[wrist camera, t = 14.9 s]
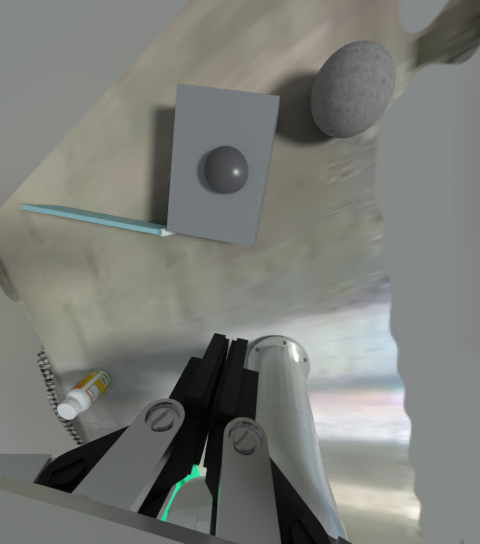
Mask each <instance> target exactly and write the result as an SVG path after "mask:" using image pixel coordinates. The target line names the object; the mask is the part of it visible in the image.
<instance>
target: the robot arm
mask: <svg viewBox="0 0 480 544" xmlns="http://www.w3.org/2000/svg"><path fill="white" fill-rule="evenodd" d="M225 338H226V335H221V334H217V333H215V334H214V336H213V338H212V340H211V342H210V344H209V346H208V348H207V350H206V353H205V355H204V357H203V359H201V358H196V357H191V359H190V360H189V362H188V364H187V366H186V368H185V369H184V371H183V373H182V375H181V377H180V378H179V380H178V382H177V384H176V386H175V387H174V389H173V391H172V393H171V395H170V396H169V398H167V399H159V400H156V401H154V402H152V403H150V404H149V405H148V406H147V407H145V408H144V410H143V411H142V412H141V413H140V414H139V415H138V417H137V418H136V419H135V420H134V421H133V422H132V424H131V425H129V426H127V427H125V428H122V429H120V430H118V431H115V432H113V433H111V434H108V435H106V436H104V437H101V438H99V439H96V440H94V441H92V442H89V443H87V444H85V445H82V446H80V447H78V448H75V449H73V450H71V451H69V452H66V453H65V454H63V455H61V456H59V457H58V458H52V457H51V454H0V544H352V543H350V542H349V540H348V537H347V534H346V530H345V527H344V525H343V522H342V519H341V516H340V513H339V511H338V508H337V505H336V502H335V499H334V496H333V494H332V491H331V488H330V485H329V482H328V478H327V475H326V472H325V468H324V464H323V460H322V456H321V452H320V448H319V443H318V438H317V434H316V429H315V424H314V419H313V415H312V410H311V405H310V400H309V395H308V390H307V386H306V381H305V380H306V379H307V377H308V375H309V372H310V361H309V357H308V355H307V353H306V351H305V350H304V348H303V347H302V346H301V345H300V344H299V343H297V342H296V341H294V340H292V339H289V338H286V337H280V336H274V337H268V338H265V339H263V340H261V341H259V342H258V343H256V344H255V345H254V347H253V348H252V349H251V351H250V353H249V356H248V369H244V368H243V366H244V360H245V355H246V349H247V344H248V340H244V339H240V338H237V341H235V340H232V343H231V346H230V350H229V353H228V356H227V350H228V344H229V339H225ZM226 356H227V360H226ZM225 362H226V363H225ZM207 436H208V440H207ZM206 440H207V446H206V452H205V458H204V465H203V467H205V468H207V472H206V476H199V477H195V478H192V479H190V480H188V481H186V482H185V483H184V484H183V485H182V486H181V487H180V488H179V489H178V491H177V492H176V494H175V496H174V498H173V500H172V502H171V505H170V508H169V511H168V514H167V518H166V522H165V521H162V520H161V518H162V515H163V513H164V511H165V509H166V507H167V505H168V503H169V501H170V499H171V497H172V495H173V493H174V490H175V487H176V484H177V483H178V482H180V481H181V480H183V479H184V478H186V477H187V475H191V472H192V469H193V466H194V465H198V466H199V464H200V461H201V457H202V454H203V450H204V447H205V443H206Z"/></svg>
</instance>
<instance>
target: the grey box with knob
mask: <svg viewBox="0 0 480 544" xmlns="http://www.w3.org/2000/svg"><path fill="white" fill-rule="evenodd" d="M279 102H280V96H276V95H267V94H259V93H251V92H243V91H234V90H226V89H218V88H210V87H201V86H193V85H185V84H177V94H176V108H175V121H174V135H173V149H172V163H171V177H170V191H169V205H168V219H167V231H168V232H174V233H179V234H185V235H191V236H196V237H202V238H207V239H213V240H218V241H224V242H229V243H235V244H240V245H246V246H251V247H253V246H254V244H255V243H256V239H257V233H258V228H259V222H260V217H261V211H262V206H263V200H264V195H265V189H266V184H267V178H268V172H269V167H270V161H271V156H272V150H273V145H274V139H275V134H276V128H277V122H278V115H279Z"/></svg>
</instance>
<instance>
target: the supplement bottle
mask: <svg viewBox="0 0 480 544" xmlns="http://www.w3.org/2000/svg"><path fill="white" fill-rule="evenodd" d="M110 382H111V380H110V377H109V375H108V374H107V373H106V372H105V371H103V370H99V369H96V370H93V371H92V372H91V373H89V374H88V375H87V376H86V377H85V378H84V379H83V380H82V381H80V382H79V383H78V384H77V385H76V386H75V387H74V388H72V389H71V390H70V391H69V392H68V393H67V395H66V398H65V400H64V401H63V402H62V403H61V404H60V405H59V406H58V408H57V411H58V413H59V415H60V416H61V417H63V418H64V419H67V420H71V419H73V418H75V417H76V416H77V415H78V414H79V412H83V411H85V410H87V409H88V408H89V407H90V406H91V405H92V403H93V402H94V401H95V400H96V399H97V398H98V397H99V396H100V395H101V394H102V393H103V392H104V391H105V390H106V389H107V387H108V386H109V385H110Z"/></svg>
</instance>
